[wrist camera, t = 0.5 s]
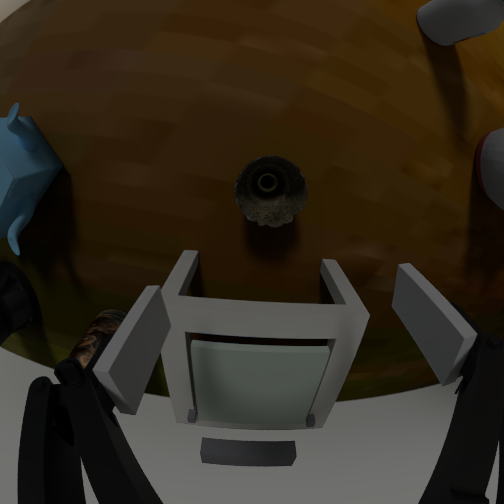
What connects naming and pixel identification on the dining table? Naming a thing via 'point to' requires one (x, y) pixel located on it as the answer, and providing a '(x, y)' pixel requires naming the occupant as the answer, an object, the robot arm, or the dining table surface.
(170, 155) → the dining table surface
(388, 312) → the dining table surface
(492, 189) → the citrus juicer
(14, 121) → the teakettle
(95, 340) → the jar
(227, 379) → the trapdoor
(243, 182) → the cup
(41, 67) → the dining table surface
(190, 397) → the frame
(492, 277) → the dining table surface
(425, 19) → the milk bottle
